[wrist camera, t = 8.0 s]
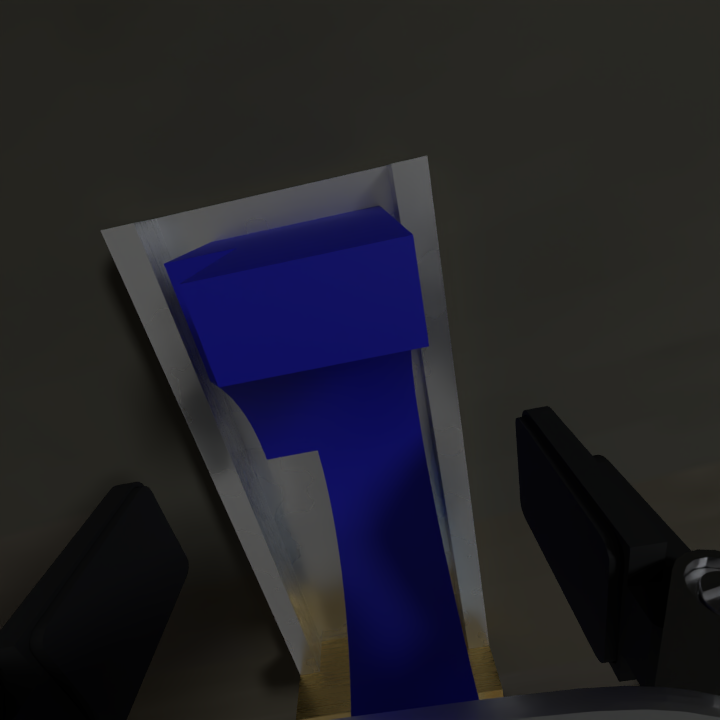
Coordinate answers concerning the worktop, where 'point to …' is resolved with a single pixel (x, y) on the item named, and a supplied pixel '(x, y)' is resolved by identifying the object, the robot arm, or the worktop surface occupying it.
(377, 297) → the blue plastic bracket
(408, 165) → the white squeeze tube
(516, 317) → the worktop surface
